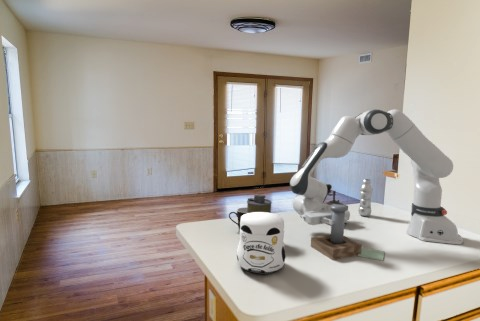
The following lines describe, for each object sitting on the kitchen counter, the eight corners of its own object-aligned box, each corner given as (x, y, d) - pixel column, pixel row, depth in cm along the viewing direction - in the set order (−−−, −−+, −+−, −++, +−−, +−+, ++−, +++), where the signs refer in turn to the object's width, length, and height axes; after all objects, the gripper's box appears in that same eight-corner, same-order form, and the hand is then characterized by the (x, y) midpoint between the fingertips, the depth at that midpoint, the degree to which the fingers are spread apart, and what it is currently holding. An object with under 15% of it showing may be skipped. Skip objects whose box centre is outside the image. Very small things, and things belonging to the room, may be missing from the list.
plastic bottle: (372, 217, 183) (374, 181, 180) (358, 216, 184) (361, 180, 181) (370, 214, 189) (372, 179, 186) (357, 213, 190) (359, 178, 187)
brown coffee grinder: (348, 223, 172) (351, 188, 170) (333, 226, 167) (335, 191, 164) (326, 215, 186) (328, 183, 183) (311, 218, 180) (313, 184, 177)
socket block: (337, 241, 147) (338, 233, 147) (361, 254, 134) (361, 244, 134) (310, 246, 141) (311, 237, 141) (332, 259, 129) (333, 249, 128)
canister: (275, 240, 148) (276, 195, 145) (259, 246, 140) (261, 199, 137) (256, 233, 155) (257, 191, 152) (240, 239, 147) (241, 194, 145)
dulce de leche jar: (249, 281, 111) (250, 228, 108) (229, 260, 127) (230, 213, 124) (294, 272, 118) (296, 222, 115) (270, 253, 133) (271, 209, 131)
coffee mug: (258, 230, 160) (258, 209, 158) (248, 235, 153) (249, 213, 151) (237, 225, 166) (237, 205, 165) (227, 230, 159) (227, 209, 157)
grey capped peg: (346, 241, 139) (348, 205, 137) (343, 247, 133) (345, 209, 131) (330, 238, 142) (332, 203, 140) (326, 244, 136) (329, 207, 134)
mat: (384, 252, 137) (384, 251, 137) (382, 260, 129) (382, 259, 129) (360, 248, 141) (360, 247, 141) (357, 256, 133) (358, 255, 133)
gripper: (298, 207, 143) (318, 217, 131) (337, 203, 152) (359, 211, 139) (297, 222, 144) (317, 232, 132) (336, 216, 153) (358, 226, 140)
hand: (339, 222), depth 136 cm, fingers closed on grey capped peg, 5 cm apart
